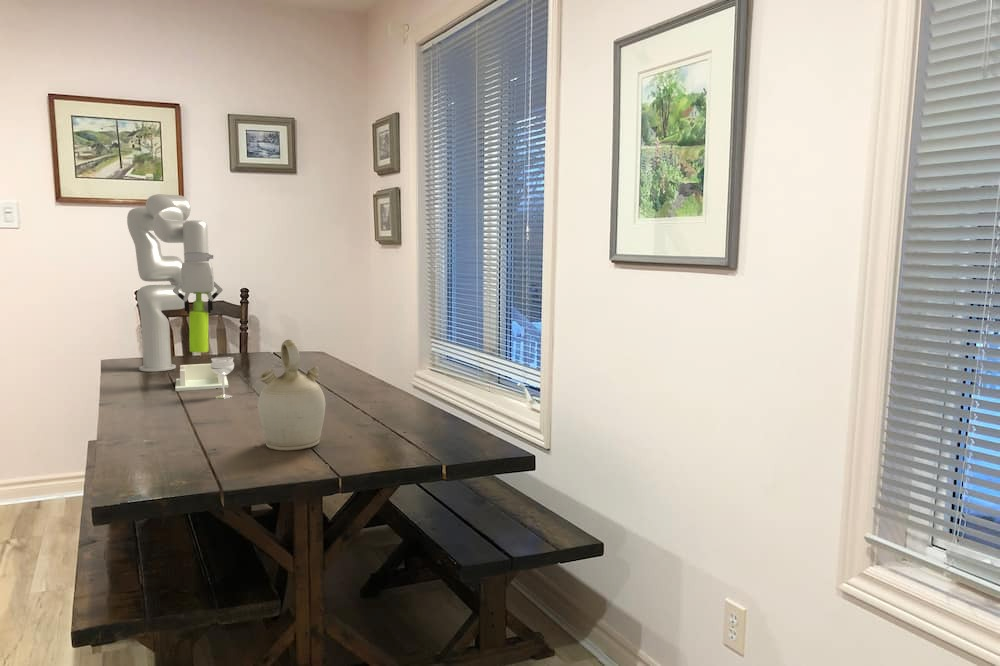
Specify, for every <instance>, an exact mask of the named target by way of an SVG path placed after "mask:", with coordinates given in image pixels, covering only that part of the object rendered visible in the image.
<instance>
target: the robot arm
mask: <svg viewBox="0 0 1000 666" xmlns="http://www.w3.org/2000/svg"><path fill="white" fill-rule="evenodd" d="M190 213H191V203H190V201H189V200H188V198H187V197H185V196H184V195H180V194H179V195H178V194H152V195H151V196H149V197H148V198H147V199H146V201H145V206H143V207H135V208H132V209H130V210H129V211H128V213H127V216H126V219H127V220H126V224H127V229H128V232H129V234H130V236H131V237H130V238H132V241H133V243H134V244H133V245H134V249H135V257H136V262H137V270H138V276H139V278H140V279H141V281H144V282H151V283H152V282H169V283H170V284H150V285H149V284H148V285H145V286H141V287H140V288H138V290H137V293H136V299H137V301H136V302H137V305H138V309H139V314H140V315H139V316H140V326H141V328H140V329H141V339H142V341H141V342H142V343H141V344H142V361H143V362H142V363H143V364H142V365H140V366H139V367H138V370H139V371H140V372H146V373H147V372H154V373H155V372H164V371H171V370H175V369H176V368H177V365H176V364H173V363H172V353H171V352H172V351H171V332H170V331H171V330H170V322H169V321H170V320H169V319H168V318H167V316H166V315H165V314H164V313H163V312H162V311H171V310H172V311H174V310H182V309H184V312H186V314H187V315H189V312H190V301H189V296H190V294H193V293H210V294H209V295H208V294H206V296H207V297H208V298H207V312H208V314H211V311H213V309H214V308H213V301H214V300H215V299H216V298H217V297H218V296H219V295H220V294H221V293H222V292H223V288H222V287H221V286H220V285H219V284H218V283H216V282H215V279H214V270H213V264H212V262H210V260H214V254H209V236H208V235H209V234H208V233H209V232H208V223H207V222H206V221H203V220H193V219H192V220H189V219H188V218H189V216H190ZM151 232H153V233H154V234H155V236H154V234H153V233H151ZM158 239H159V240H160V241H162V242H164V243H166V244H167V243H168V244H171V243H172V244H176V243H177V244H181V243H182V244H183V259H184V260H183V261H182V259H181V258H180V257H178V256H174V255H163V253H162V249H161V244H160V242H159V240H158ZM215 289H216V291H215V292H214V290H215ZM212 292H213V294H212Z"/></svg>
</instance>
